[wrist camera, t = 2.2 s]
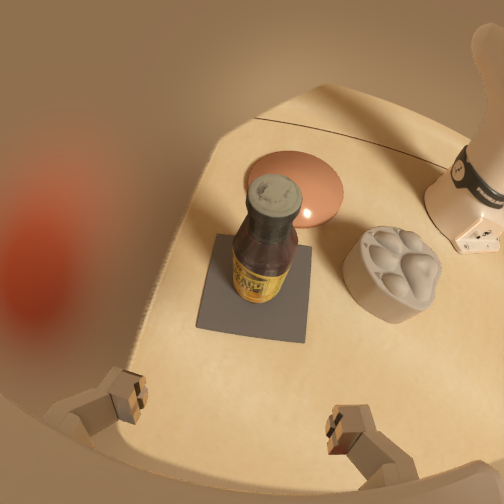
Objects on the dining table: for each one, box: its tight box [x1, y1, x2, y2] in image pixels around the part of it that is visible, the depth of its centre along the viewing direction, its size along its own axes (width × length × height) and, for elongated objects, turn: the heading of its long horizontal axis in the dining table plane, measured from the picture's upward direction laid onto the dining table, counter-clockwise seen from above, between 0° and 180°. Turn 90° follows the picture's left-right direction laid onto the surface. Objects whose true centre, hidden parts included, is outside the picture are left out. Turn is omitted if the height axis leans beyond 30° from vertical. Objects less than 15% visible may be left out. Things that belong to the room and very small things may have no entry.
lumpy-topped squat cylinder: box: [342, 226, 442, 324], centre depth 34 cm, size 10×13×9 cm
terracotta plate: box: [248, 151, 344, 228], centre depth 45 cm, size 16×16×1 cm
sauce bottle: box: [232, 174, 303, 304], centre depth 28 cm, size 6×6×20 cm
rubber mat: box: [197, 234, 312, 343], centre depth 37 cm, size 14×14×1 cm
